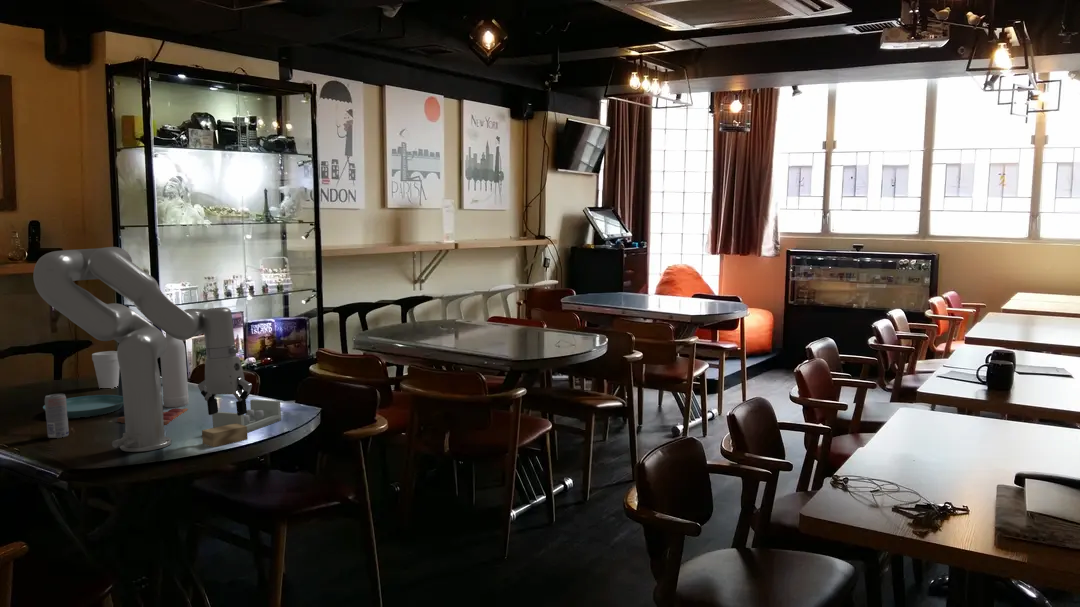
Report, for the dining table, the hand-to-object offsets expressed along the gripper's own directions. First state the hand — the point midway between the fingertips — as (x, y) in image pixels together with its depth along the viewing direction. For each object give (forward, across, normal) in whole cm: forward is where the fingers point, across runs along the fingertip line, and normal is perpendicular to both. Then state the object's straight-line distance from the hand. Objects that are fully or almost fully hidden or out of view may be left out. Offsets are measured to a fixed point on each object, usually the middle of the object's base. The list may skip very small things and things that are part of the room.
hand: (227, 414), depth 235 cm
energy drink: (+6, +53, +9) cm, 54 cm away
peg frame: (+8, +6, -15) cm, 18 cm away
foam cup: (+5, +99, -53) cm, 113 cm away
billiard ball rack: (+7, +41, -19) cm, 46 cm away
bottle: (+7, +50, -34) cm, 61 cm away
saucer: (+6, +73, -19) cm, 76 cm away
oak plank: (+8, +1, +1) cm, 8 cm away
